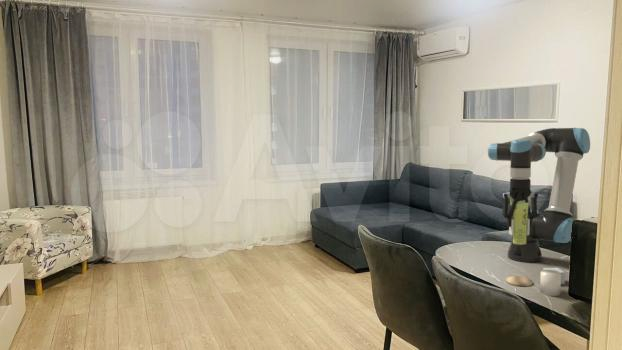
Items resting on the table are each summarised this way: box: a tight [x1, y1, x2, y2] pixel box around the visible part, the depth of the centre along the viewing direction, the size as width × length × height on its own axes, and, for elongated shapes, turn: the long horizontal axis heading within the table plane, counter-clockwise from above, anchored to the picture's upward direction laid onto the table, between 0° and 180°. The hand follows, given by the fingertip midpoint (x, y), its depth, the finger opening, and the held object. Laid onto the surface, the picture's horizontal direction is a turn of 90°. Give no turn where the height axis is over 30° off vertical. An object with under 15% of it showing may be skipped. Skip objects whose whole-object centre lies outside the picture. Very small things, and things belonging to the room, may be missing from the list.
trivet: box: [505, 275, 533, 287], centre depth 188 cm, size 10×10×1 cm
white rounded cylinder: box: [539, 269, 562, 297], centre depth 175 cm, size 7×7×8 cm
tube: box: [509, 196, 531, 245], centre depth 185 cm, size 6×5×20 cm
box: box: [542, 267, 566, 285], centre depth 187 cm, size 6×6×5 cm
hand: (519, 234), depth 186 cm, fingers closed on tube, 6 cm apart
